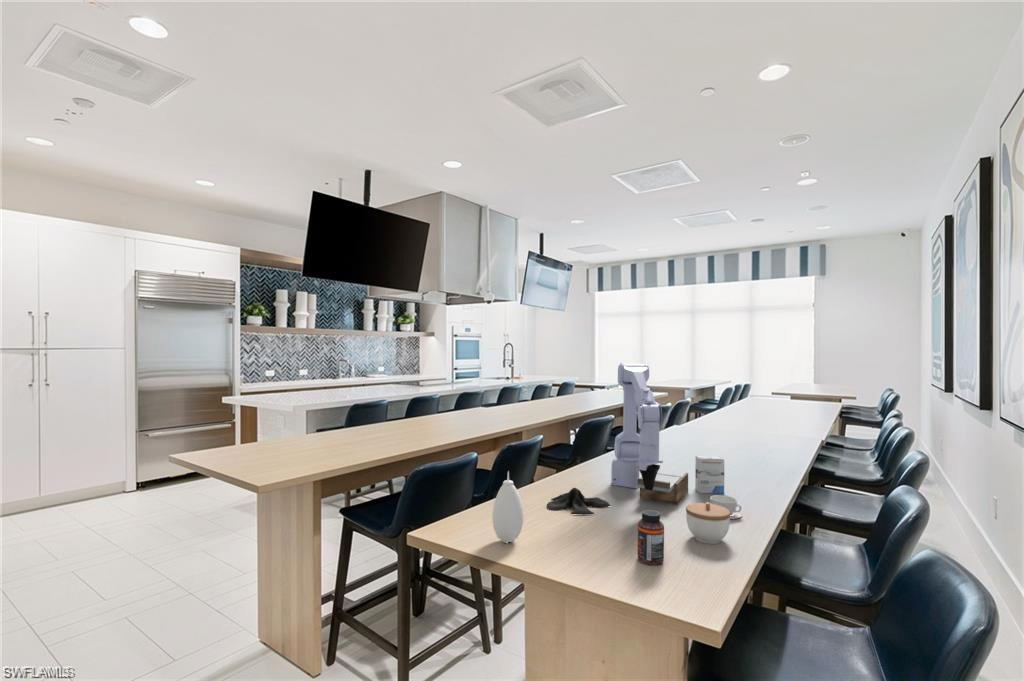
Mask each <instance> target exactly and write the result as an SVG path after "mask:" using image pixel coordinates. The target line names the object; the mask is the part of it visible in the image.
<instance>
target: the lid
mask: <svg viewBox="0 0 1024 681" xmlns="http://www.w3.org/2000/svg"><path fill="white" fill-rule="evenodd" d="M660 474H661V473H660ZM660 474H657V475H656V478H655V483H654V487H653V490H657V491H664V492H670V491H671V490H672V489H673V488H674V487H675V483H676V482H677V481H678V480H679V479H680V478H681V477H682V476H681V477H674V476H675V475H674V476H667V475H668V474H667V475H660ZM637 487H638V488H637V489H640V488H645V487H644V483H643V478H641V477H639V478H638V483H637Z"/></svg>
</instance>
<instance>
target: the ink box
mask: <svg viewBox="0 0 1024 681" xmlns="http://www.w3.org/2000/svg"><path fill="white" fill-rule="evenodd" d="M694 464H695V471H694V472H695V474H694V475H695V481H694V483H695V484H694V486H695V487H694V489H695V490H696V491H697V493H699V494H720V493H722V494H723V495H725V458H722V457H721V456H715V455H714V456H713V455H711V456H709V455H696V456H695V463H694ZM722 494H721V495H722Z"/></svg>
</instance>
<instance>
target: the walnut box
mask: <svg viewBox="0 0 1024 681" xmlns="http://www.w3.org/2000/svg"><path fill="white" fill-rule="evenodd" d="M657 474H660V475H667V476H674V477H681V478H680V479H679V480H678V481H677V482H676V483H675V487H674V488H673V489H672V490H671V491H670V492H664V491H657V490H646V489H645V488H639V498H640V500H644V499H645V501H651V502H657V503H663V504H670V505H675V506H678V505H679V504H680V503H681V501H682V500H683V499H684V498H685V497H686V495H688V493H689V473H688V472H686V473H684V474H683V475H682V476H680V475H673V474H667V473H659V472H657ZM640 478H642V476H641V477H640ZM639 498H638V499H639Z"/></svg>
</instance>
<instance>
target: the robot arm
mask: <svg viewBox="0 0 1024 681" xmlns="http://www.w3.org/2000/svg"><path fill="white" fill-rule="evenodd" d="M649 379H650V367H649V365H648V364H647V363H619V365H618V368H617V384H618V385H619V386H621V387H622V390H623V403H622V404H623V412H622V414H623V416H622V417H623V418H622V419H623V420H622V421H623V422H622V423H623V424H622V425H623V426H622V432H620V433H619V434H617V435H616V436H615V439H614V447H613V449H614V450H613V452H614V456H615V458H613V459H612V462H611V476H610V477H611V478H610V479H611V482H610V485H612V486H617V485H618V486H619V487H624V488H625V487H626V488H631V489H639V488H638V487H637V483H638V478H640V475H641V477H642V478H643V483H644V487H645V489H646V490H653V487H654V483H655V478H656V475H657V473H659V470H660V469H661V465H660V464H663V463H664V460H663V459H661V458H660V424H661V423H662V422H663V421H662V420H663V409H662V405H661V404H660V403H659V402H656V400H655V397H654V393H653V392H652V390H651V389H649V388H648V386H647V382H648V381H649ZM637 422H638V425H637ZM637 426H638V429H639V433H638V432H637Z"/></svg>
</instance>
